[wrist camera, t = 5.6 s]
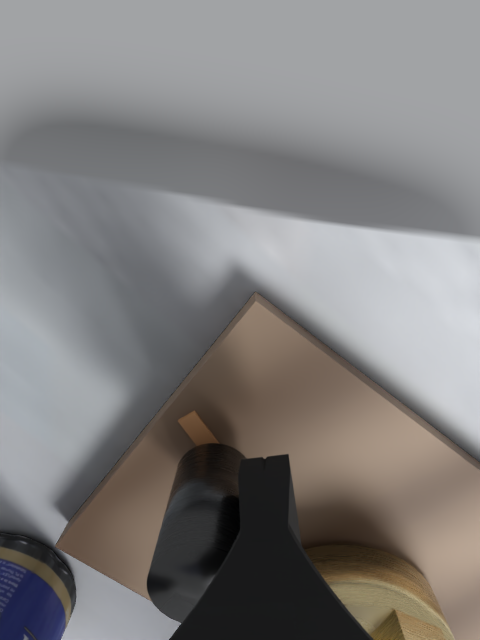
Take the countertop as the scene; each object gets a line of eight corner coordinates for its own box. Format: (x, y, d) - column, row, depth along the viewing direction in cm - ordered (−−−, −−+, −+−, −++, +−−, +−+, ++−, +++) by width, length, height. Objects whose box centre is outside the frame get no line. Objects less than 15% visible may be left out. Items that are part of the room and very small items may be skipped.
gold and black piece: (469, 644, 17) (548, 812, 12) (301, 705, 18) (316, 873, 14) (296, 380, 13) (318, 480, 9) (106, 484, 15) (41, 614, 10)
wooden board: (593, 549, 17) (620, 578, 16) (375, 701, 20) (383, 735, 19) (255, 291, 14) (255, 301, 13) (67, 522, 17) (53, 548, 16)
